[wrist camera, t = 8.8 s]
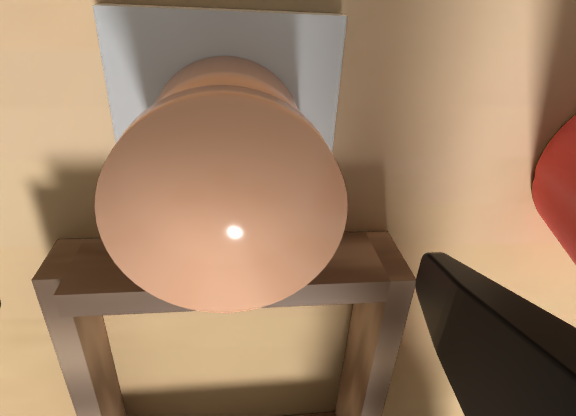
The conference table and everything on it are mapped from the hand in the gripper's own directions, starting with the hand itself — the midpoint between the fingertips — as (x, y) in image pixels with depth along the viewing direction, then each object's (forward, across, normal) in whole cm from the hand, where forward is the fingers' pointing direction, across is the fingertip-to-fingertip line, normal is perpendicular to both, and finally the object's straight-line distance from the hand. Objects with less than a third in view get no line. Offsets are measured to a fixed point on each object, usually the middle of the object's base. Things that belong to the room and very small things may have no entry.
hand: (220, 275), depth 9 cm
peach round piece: (+10, 0, 0) cm, 10 cm away
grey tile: (+10, 0, 0) cm, 11 cm away
